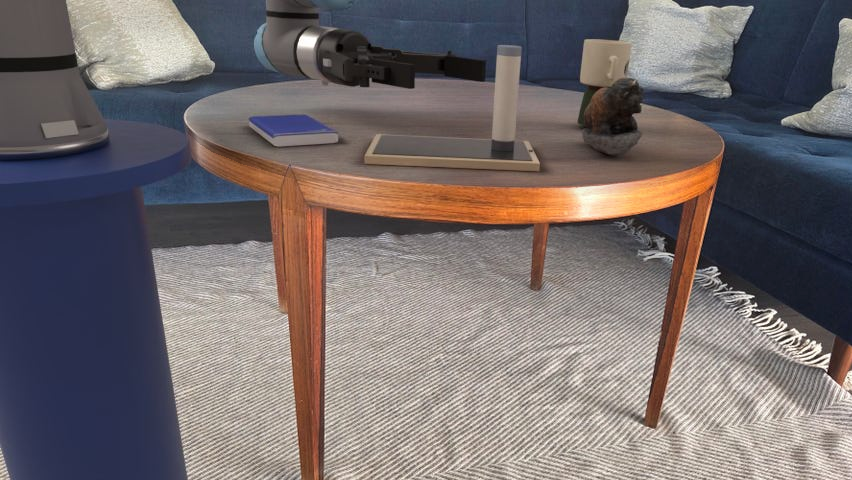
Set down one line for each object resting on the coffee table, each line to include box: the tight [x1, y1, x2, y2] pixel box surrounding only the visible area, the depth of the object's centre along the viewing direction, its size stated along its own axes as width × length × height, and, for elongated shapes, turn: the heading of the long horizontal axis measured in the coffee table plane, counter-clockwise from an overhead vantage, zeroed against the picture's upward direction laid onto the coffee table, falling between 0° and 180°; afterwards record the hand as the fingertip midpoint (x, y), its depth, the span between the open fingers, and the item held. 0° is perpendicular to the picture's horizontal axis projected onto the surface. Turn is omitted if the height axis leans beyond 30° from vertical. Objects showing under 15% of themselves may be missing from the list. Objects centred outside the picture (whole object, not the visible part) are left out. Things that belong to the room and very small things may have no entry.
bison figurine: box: [581, 77, 644, 156], centre depth 84 cm, size 12×7×10 cm, turn 7°
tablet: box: [364, 133, 541, 172], centre depth 79 cm, size 20×12×1 cm, turn 92°
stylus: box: [491, 44, 523, 152], centre depth 77 cm, size 3×3×12 cm
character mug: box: [576, 38, 633, 126], centre depth 99 cm, size 11×7×13 cm, turn 5°
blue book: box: [248, 114, 339, 148], centre depth 84 cm, size 2×8×12 cm
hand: (450, 73), depth 80 cm, fingers open, 13 cm apart
